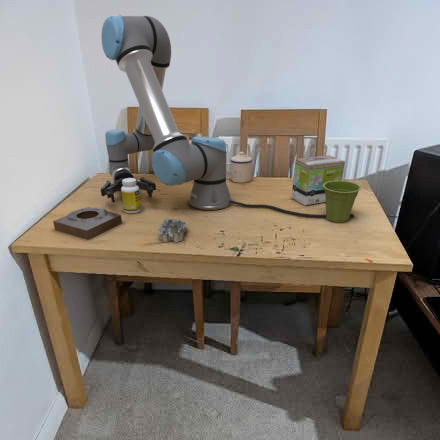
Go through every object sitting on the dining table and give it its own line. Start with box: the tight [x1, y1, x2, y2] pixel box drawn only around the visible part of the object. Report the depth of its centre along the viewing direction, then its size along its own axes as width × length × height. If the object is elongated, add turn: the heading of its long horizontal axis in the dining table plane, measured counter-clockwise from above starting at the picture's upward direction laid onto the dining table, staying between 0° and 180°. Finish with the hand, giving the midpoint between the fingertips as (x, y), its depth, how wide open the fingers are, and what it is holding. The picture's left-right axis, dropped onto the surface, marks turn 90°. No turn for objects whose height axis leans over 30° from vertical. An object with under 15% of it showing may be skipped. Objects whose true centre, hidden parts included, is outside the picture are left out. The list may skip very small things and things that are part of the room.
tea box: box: [291, 154, 346, 206], centre depth 150 cm, size 15×10×15 cm, turn 114°
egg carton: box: [157, 217, 187, 243], centre depth 126 cm, size 11×8×4 cm
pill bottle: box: [120, 177, 142, 214], centre depth 143 cm, size 6×6×11 cm
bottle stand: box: [52, 206, 123, 241], centre depth 134 cm, size 16×16×3 cm
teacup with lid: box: [226, 151, 253, 184], centre depth 172 cm, size 12×9×12 cm
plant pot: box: [323, 180, 362, 223], centre depth 134 cm, size 12×12×11 cm
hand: (132, 196), depth 139 cm, fingers open, 12 cm apart
